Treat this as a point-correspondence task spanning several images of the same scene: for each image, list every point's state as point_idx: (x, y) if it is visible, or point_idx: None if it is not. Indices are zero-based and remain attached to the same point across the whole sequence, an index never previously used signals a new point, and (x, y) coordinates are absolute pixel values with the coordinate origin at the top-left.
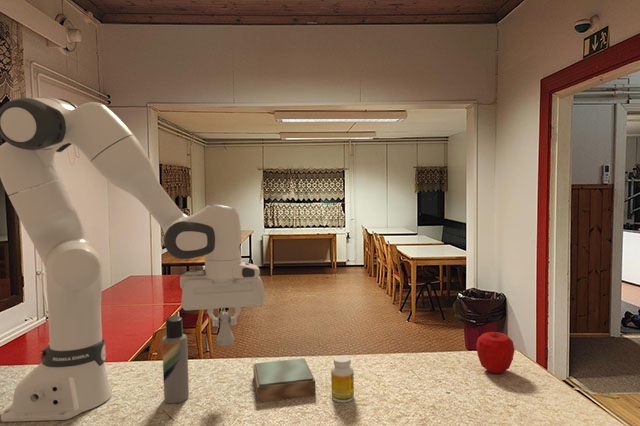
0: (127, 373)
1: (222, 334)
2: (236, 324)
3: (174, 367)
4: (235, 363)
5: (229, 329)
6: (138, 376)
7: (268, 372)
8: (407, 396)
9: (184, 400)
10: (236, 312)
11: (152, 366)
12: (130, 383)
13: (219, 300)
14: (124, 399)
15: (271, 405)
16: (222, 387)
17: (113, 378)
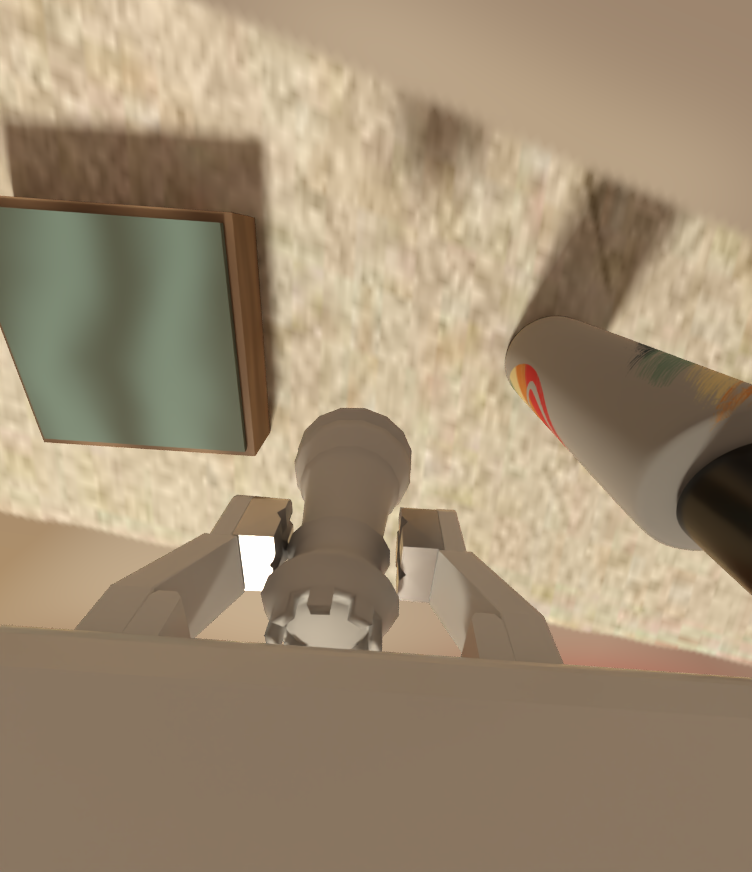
0: (653, 574)
1: (370, 460)
2: (240, 497)
3: (641, 345)
4: None
5: (312, 488)
6: (628, 547)
7: (184, 345)
8: None
9: (524, 328)
10: (187, 596)
11: (576, 595)
12: None
13: (390, 827)
14: None
15: (198, 166)
16: (381, 391)
17: (699, 556)
